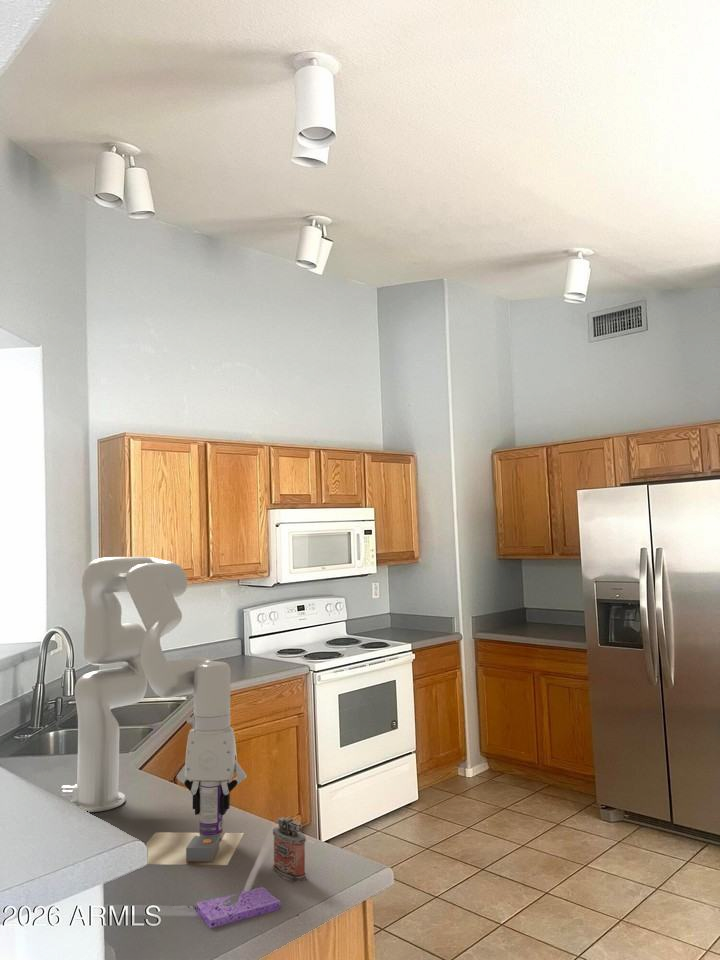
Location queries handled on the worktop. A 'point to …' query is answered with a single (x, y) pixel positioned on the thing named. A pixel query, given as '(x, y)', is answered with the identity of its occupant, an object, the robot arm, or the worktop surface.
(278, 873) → the lighter
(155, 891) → the worktop surface
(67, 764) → the worktop surface
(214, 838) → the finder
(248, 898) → the sponges
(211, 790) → the container
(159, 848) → the board
